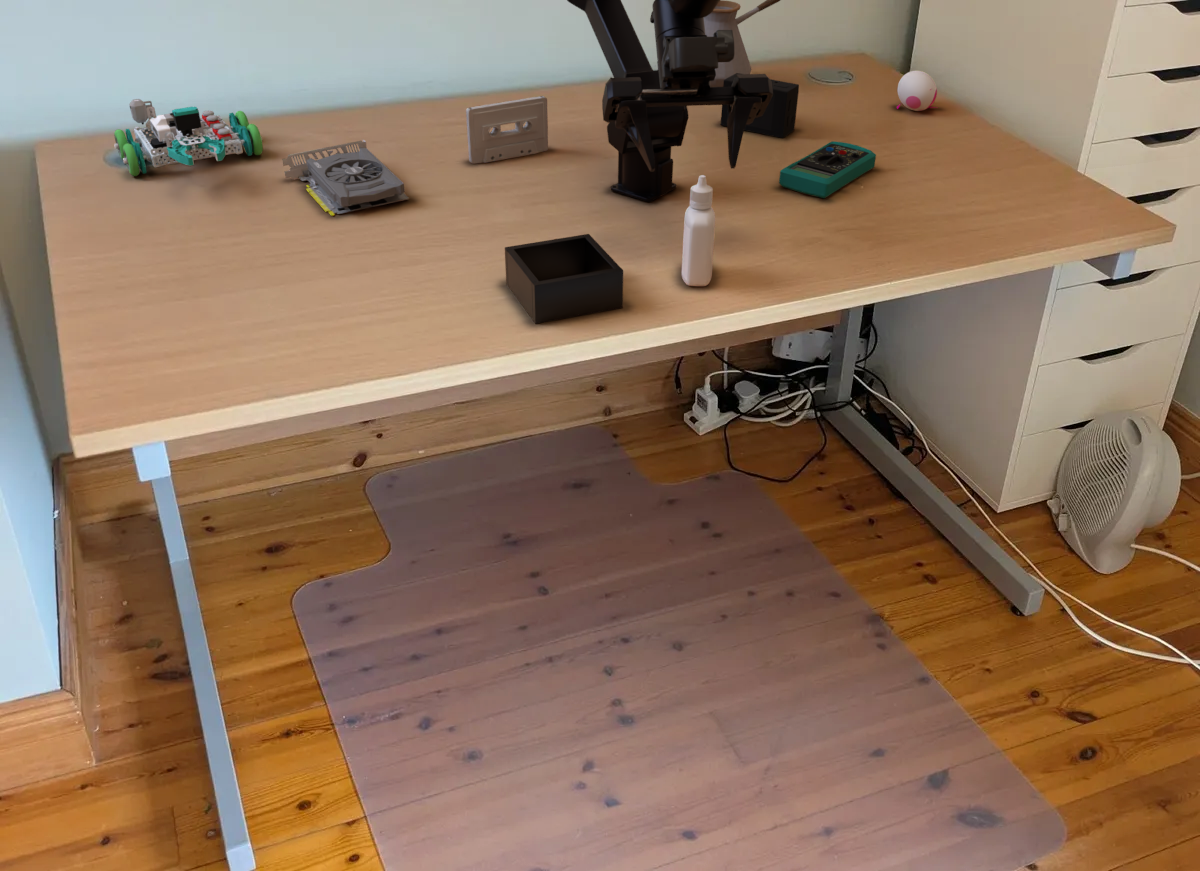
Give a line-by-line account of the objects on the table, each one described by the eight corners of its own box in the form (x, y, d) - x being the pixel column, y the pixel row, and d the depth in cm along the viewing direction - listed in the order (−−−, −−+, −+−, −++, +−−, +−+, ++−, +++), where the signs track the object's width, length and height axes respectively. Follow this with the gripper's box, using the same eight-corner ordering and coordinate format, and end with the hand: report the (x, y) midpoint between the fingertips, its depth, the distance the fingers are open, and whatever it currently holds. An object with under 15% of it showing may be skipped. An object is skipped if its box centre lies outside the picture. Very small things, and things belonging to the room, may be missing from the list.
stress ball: (926, 137, 177) (958, 103, 174) (889, 107, 175) (920, 73, 172) (918, 119, 184) (948, 86, 180) (881, 90, 181) (911, 56, 178)
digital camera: (798, 128, 171) (803, 81, 167) (783, 138, 167) (788, 91, 163) (736, 115, 175) (740, 70, 171) (720, 125, 172) (723, 79, 168)
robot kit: (148, 213, 143) (131, 141, 138) (112, 150, 161) (96, 84, 156) (293, 186, 151) (282, 116, 145) (243, 129, 168) (232, 65, 163)
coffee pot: (701, 100, 181) (707, 2, 173) (668, 80, 190) (672, -14, 181) (813, 84, 189) (824, -11, 180) (776, 65, 197) (785, -26, 189)
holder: (506, 283, 127) (504, 247, 125) (588, 269, 131) (588, 233, 128) (535, 324, 120) (534, 285, 117) (622, 307, 123) (623, 270, 120)
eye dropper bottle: (667, 281, 128) (672, 180, 122) (691, 263, 132) (696, 164, 125) (702, 291, 126) (708, 188, 120) (724, 272, 130) (732, 172, 124)
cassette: (472, 165, 157) (469, 110, 153) (467, 161, 158) (463, 107, 154) (550, 151, 162) (549, 98, 158) (544, 147, 163) (543, 94, 159)
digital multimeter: (876, 168, 157) (879, 148, 156) (825, 201, 148) (828, 180, 146) (829, 157, 161) (832, 136, 159) (776, 188, 151) (778, 167, 150)
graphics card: (279, 153, 151) (365, 136, 156) (284, 180, 153) (368, 162, 158) (318, 198, 139) (410, 178, 144) (323, 226, 141) (413, 206, 146)
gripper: (606, 3, 121) (618, 140, 118) (777, -1, 123) (792, 134, 120) (597, 56, 132) (607, 182, 129) (754, 52, 134) (768, 176, 131)
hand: (693, 168), depth 127 cm, fingers open, 9 cm apart
